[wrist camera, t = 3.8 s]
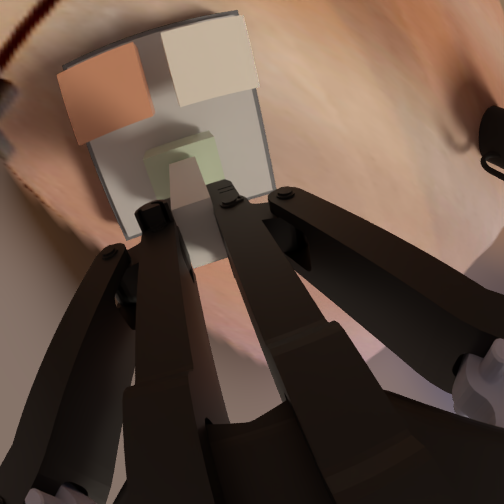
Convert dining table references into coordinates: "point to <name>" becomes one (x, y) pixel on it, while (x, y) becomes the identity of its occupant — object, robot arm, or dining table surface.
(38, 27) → the dining table surface
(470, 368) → the robot arm
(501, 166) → the mug
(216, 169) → the sage key
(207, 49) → the cream key
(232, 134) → the keypad
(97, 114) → the terracotta key
